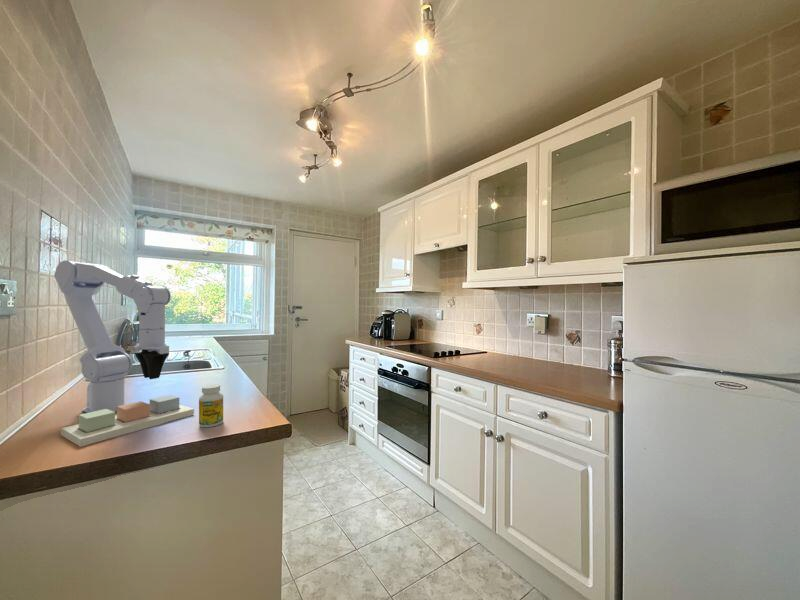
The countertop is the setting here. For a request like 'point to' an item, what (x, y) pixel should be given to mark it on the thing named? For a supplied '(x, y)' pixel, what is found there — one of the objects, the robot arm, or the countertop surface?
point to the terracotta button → (133, 411)
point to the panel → (122, 426)
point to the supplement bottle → (210, 406)
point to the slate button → (164, 404)
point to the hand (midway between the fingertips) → (151, 377)
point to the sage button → (96, 420)
